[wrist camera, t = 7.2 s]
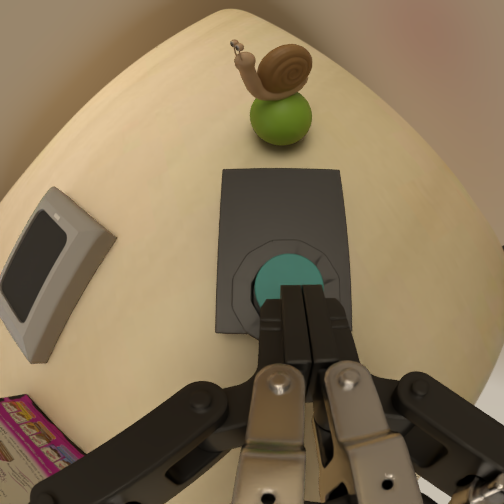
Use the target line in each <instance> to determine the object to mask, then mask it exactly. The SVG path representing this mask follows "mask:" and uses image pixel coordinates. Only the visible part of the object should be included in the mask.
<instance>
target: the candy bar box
mask: <svg viewBox="0 0 504 504" xmlns="http://www.w3.org/2000/svg"><path fill="white" fill-rule="evenodd" d="M85 455H86V454H85V453H84V452H82V451H81V450H80V449H79V448H78V447H77V446H76V445H74V444H73V443H72V442H71V441H70V440H69V439H68V438H67V437H66V436H65V435H64V434H63V433H62V432H61V431H60V430H59V429H58V428H57V427H56V426H55V425H54V424H53V423H52V422H51V421H50V420H49V419H48V418H47V417H46V416H45V415H44V414H43V413H42V412H41V411H40V410H39V409H38V407H37V406H36V405H35V404H34V403H33V402H32V400H31V399H30V398H29V397H28V396H27V394H23V395H18V396H12V397H5V398H0V504H30V493H31V490H32V488H33V486H34V485H35V484H37V483H38V482H40V481H42V480H44V479H46V478H47V477H49V476H51V475H53V474H55V473H56V472H58V471H60V470H62V469H63V468H65V467H67V466H68V465H70V464H72V463H73V462H75V461H77V460H78V459H80V458H82V457H83V456H85Z"/></svg>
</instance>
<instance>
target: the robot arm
mask: <svg viewBox="0 0 504 504" xmlns="http://www.w3.org/2000/svg"><path fill="white" fill-rule="evenodd" d="M310 402H313V410H314V413H313V417H312V427H313V433H314V439H315V445H316V451H317V458H318V464H319V480H318V485H319V494H320V501H321V503H318V502H310V501H304V490H305V473H306V450H305V447H304V420H305V403H310ZM241 446H242V448H241V452H240V456H239V462H238V468H237V474H236V479H235V485H234V491H233V496H232V502H231V504H437V503H436V502H435V501H433V500H432V499H431V498H429V497H428V496H426V495H425V494H423V493H421V492H420V489H419V485H418V481H417V478H416V474H415V473H417V474H418V475H420V476H421V477H422V478H424V479H425V480H427V481H429V482H430V483H431V484H433V485H434V486H435V487H437V488H439V489H440V490H441V491H443V492H444V493H446V494H447V495H449V496H450V497H452V498H451V500H450V502H449V503H448V504H504V426H503V425H502V424H501V423H499V422H497V421H496V420H495V419H493V418H492V417H490V416H489V415H487V414H486V413H484V412H483V411H481V410H480V409H478V408H477V407H475V406H474V405H472V404H471V403H469V402H468V401H466V400H465V399H463V398H462V397H460V396H459V395H458V394H456V393H455V392H453V391H452V390H450V389H449V388H447V387H446V386H444V385H443V384H441V383H440V382H438V381H437V380H435V379H434V378H432V377H431V376H429V375H428V374H426V373H423V372H417V371H416V372H410V373H407V374H406V375H404V376H403V377H402V378H401V380H400V381H398V380H391V379H384V378H379V377H376V376H374V375H372V374H370V372H369V371H368V369H367V368H366V367H365V366H363V365H362V364H361V363H360V361H359V358H358V354H357V351H356V347H355V343H354V340H353V336H352V333H351V330H350V328H349V323H348V319H347V316H346V313H345V310H344V307H343V306H342V304H341V303H340V302H339V301H338V300H337V299H336V298H325V295H324V292H323V288H322V285H321V284H318V285H281V286H280V299H266V300H265V302H264V303H263V305H262V306H261V308H260V328H259V354H258V368H257V370H256V372H255V374H254V375H253V376H252V377H251V378H250V379H249V380H248V381H246V382H244V383H242V384H240V385H237V386H232V387H228V388H224V389H222V388H221V387H219V386H218V385H216V384H214V383H211V382H207V381H198V382H193V383H191V384H188V385H187V386H185V387H184V388H182V389H181V390H180V391H178V392H177V393H176V394H174V395H173V396H172V397H170V398H169V399H167V400H166V401H165V402H163V403H162V404H161V405H159V406H158V407H156V408H155V409H154V410H152V411H151V412H150V413H148V414H147V415H145V416H144V417H142V418H141V419H140V420H138V421H137V422H135V423H134V424H132V425H131V426H129V427H128V428H127V429H125V430H124V431H122V432H121V433H119V434H118V435H116V436H115V437H113V438H112V439H110V440H109V441H107V442H105V443H104V444H102V445H101V446H99V447H98V448H96V449H95V450H93V451H91V452H90V453H88V454H87V455H85V456H83V457H82V458H80V459H78V460H77V461H75V462H73V463H72V464H70V465H68V466H67V467H65V468H63V469H62V470H60V471H58V472H56V473H55V474H53V475H51V476H49V477H47V478H46V479H44V480H42V481H40V482H38V483H37V484H35V485H34V486H33V488H32V490H31V493H30V504H164V503H166V502H167V501H169V500H170V499H171V498H173V497H174V496H176V495H177V494H178V493H180V492H181V491H182V490H184V489H185V488H186V487H187V486H189V485H190V484H191V483H193V482H194V481H195V480H196V479H198V478H199V477H200V476H201V475H203V474H204V473H205V472H206V471H207V470H209V469H210V468H211V467H212V466H213V465H215V464H216V463H217V462H218V461H219V460H220V459H221V458H223V457H224V456H225V455H226V454H227V453H228V452H229V451H230V450H231V449H233V448H237V447H241Z"/></svg>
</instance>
